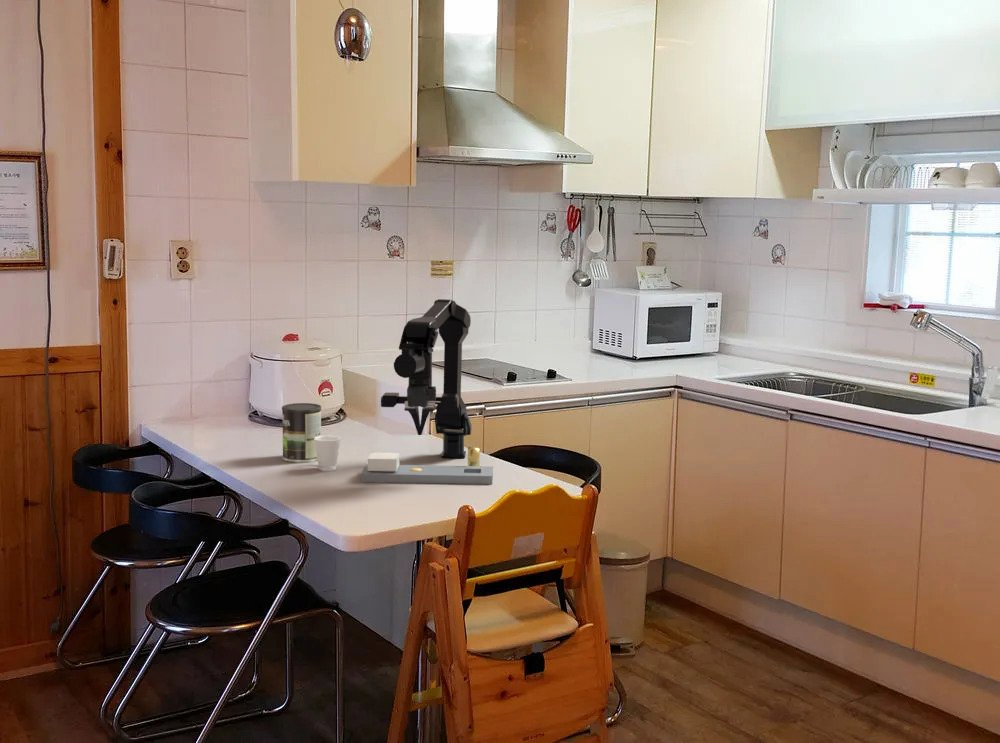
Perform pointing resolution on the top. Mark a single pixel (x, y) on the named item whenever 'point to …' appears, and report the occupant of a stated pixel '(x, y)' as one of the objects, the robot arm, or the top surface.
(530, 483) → the top surface
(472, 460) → the pin
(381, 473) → the board
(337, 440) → the cup
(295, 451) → the coffee can
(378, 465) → the cover
